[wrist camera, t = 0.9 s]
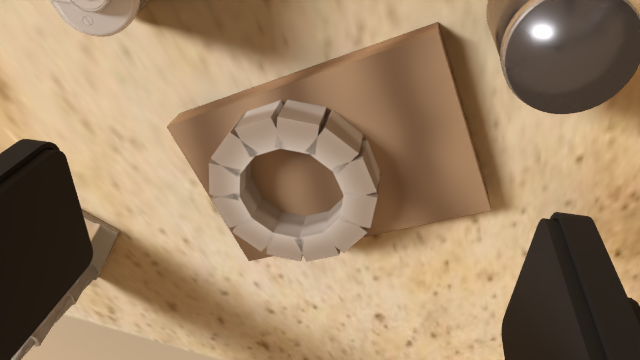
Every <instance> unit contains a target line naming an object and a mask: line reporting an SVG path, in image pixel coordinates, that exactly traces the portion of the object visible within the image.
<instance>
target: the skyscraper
mask: <svg viewBox="0 0 640 360" xmlns="http://www.w3.org/2000/svg"><path fill="white" fill-rule="evenodd" d="M82 213H83V217H84V220H85V223H86V227H87V230H88V234H89V237H90V241H91V244H92V247H93V258H92V261H91V263H90V265H89V266H88V268H87V269H86V270H85V271H84V273H83V274H82V275H81V276H80V277H79V279H78V280H77V281H76V282H75V283H74V285H73V286H72V287H71V288H70V289H69V291H68V292H67V293H66V294H65V295H64V297H63V298H62V299H61V300H60V301H59V303H58V304H57V305H56V306H55V307H54V309H53V310H52V311H51V312H50V313H49V315H48V316H47V317H46V318H45V319H44V321H43V322H42V323H41V324H40V325H39V327H38V328H37V329H36V330H35V331H34V333H33V334H32V335H31V336H30V337H29V339H28V340H27V341H26V342H25V343H24V345H23V346H22V347H21V348H20V349H19V350H18V352H17V353H16V354H15V355H14V356H13V358H12V359H11V360H21V359H22V358H23V356H24V355H25V354H26V353H27V352H28V351H29V350H30V349H31V348H32V347H36V346H39V345H41V343H42V341H43V340H44V338H45V337H46V335H47V334H48V332H49V330H50V329H51V327H52V326H53V325H54V324H55V323H56V322H57V321H58V320H59V319H60V318H61V316H62V315H63V314H64V313H65V312H66V311H67V310H68V309H69V308H70V307H71V305H73V304H75V303H76V302H77V300H78V298H79V296H80V294H81V293H82V291H83V290H84V289H85V288H86V287H87V286H88V285H89V284H90V283H91V282H92V281H93V280H96V279H97V278H98V277H99V275H100V272H101V270H102V268H103V266H104V264H105V262H106V260H107V257H108V255H109V253H110V251H111V249H112V247H113V245H114V242H115V240H116V238H117V236H118V234H119V232H120V231H119V230H118V229H116V228H114V227H112V226H110V225H108V224H107V223H105V222H103V221H101V220H99V219H98V218H96V217H94V216H92V215H90V214H89V213H87V212H85V211H83V210H82Z"/></svg>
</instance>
